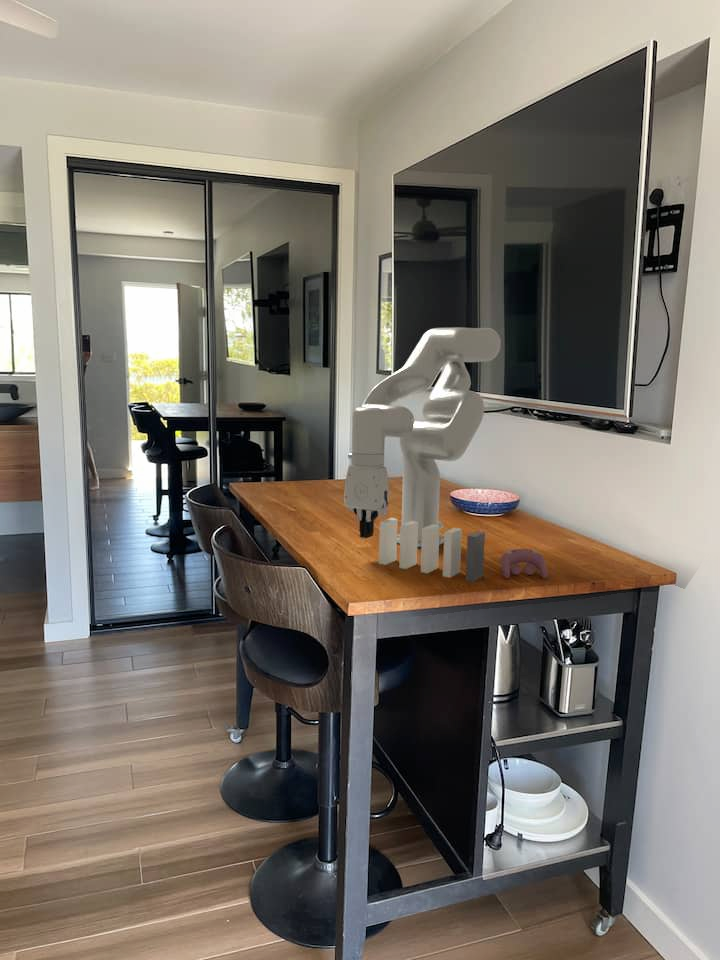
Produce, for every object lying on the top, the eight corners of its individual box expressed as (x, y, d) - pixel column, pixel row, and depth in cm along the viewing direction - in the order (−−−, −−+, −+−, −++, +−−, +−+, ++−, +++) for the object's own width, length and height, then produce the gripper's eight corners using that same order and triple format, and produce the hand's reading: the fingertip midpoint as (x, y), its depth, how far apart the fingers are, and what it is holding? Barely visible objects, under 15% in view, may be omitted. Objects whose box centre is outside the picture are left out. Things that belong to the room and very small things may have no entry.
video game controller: (543, 581, 160) (541, 550, 163) (549, 578, 156) (546, 546, 158) (499, 581, 160) (497, 550, 162) (504, 578, 156) (502, 546, 158)
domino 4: (442, 576, 158) (444, 531, 156) (452, 570, 162) (454, 527, 160) (450, 577, 157) (451, 533, 155) (459, 572, 161) (461, 528, 159)
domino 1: (378, 563, 167) (379, 521, 165) (389, 558, 171) (390, 517, 169) (385, 565, 166) (386, 522, 164) (396, 560, 170) (397, 518, 168)
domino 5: (465, 580, 155) (467, 535, 153) (475, 575, 159) (477, 531, 157) (473, 582, 154) (475, 536, 152) (482, 576, 158) (485, 532, 156)
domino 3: (420, 571, 161) (421, 528, 159) (430, 566, 165) (432, 524, 163) (427, 573, 160) (429, 529, 158) (438, 568, 164) (439, 525, 162)
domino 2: (399, 567, 164) (400, 525, 162) (410, 562, 168) (411, 521, 166) (406, 569, 163) (407, 526, 161) (416, 564, 167) (418, 522, 165)
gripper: (332, 459, 168) (331, 535, 171) (387, 465, 160) (385, 544, 163) (350, 455, 175) (349, 529, 178) (403, 461, 167) (401, 538, 170)
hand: (366, 536), depth 171 cm, fingers closed
